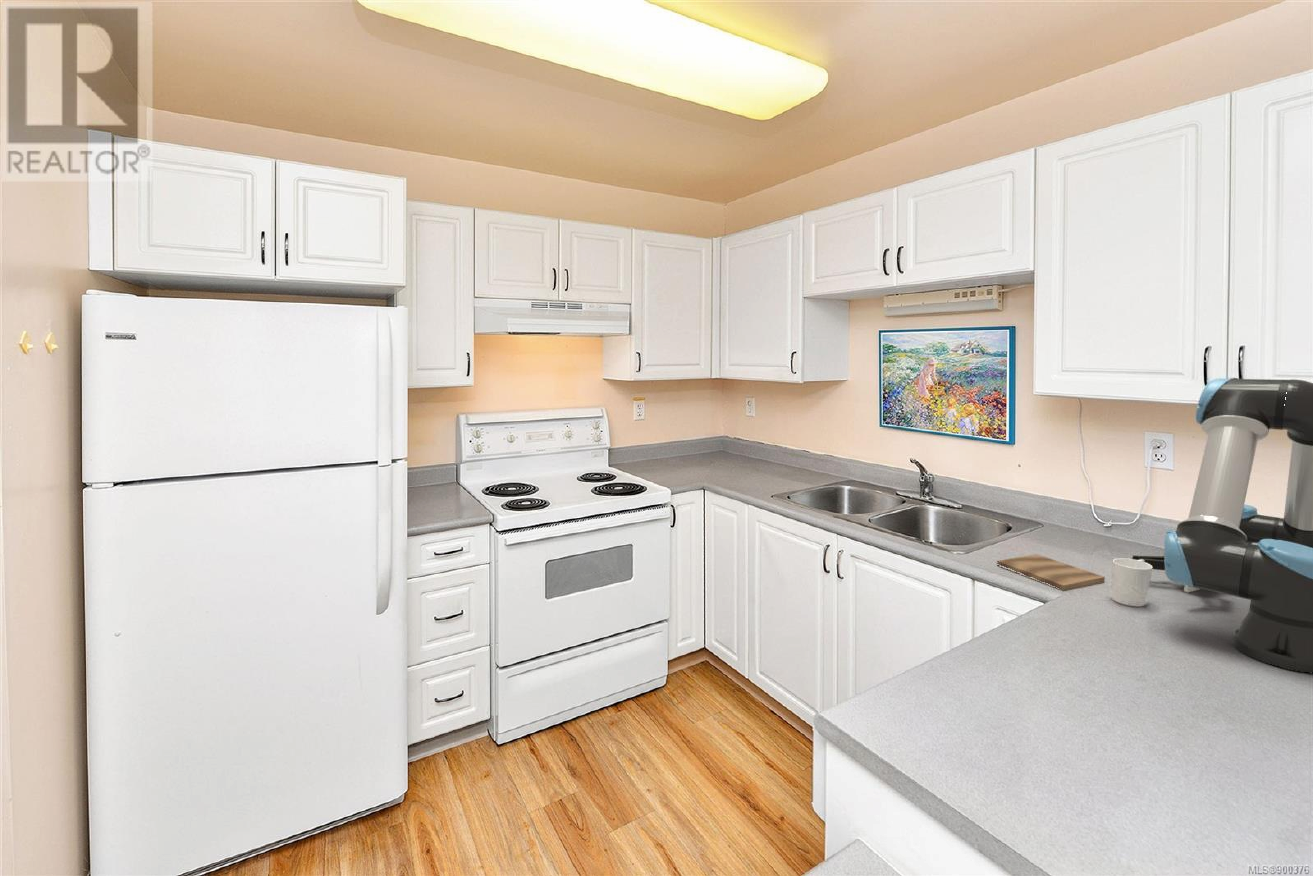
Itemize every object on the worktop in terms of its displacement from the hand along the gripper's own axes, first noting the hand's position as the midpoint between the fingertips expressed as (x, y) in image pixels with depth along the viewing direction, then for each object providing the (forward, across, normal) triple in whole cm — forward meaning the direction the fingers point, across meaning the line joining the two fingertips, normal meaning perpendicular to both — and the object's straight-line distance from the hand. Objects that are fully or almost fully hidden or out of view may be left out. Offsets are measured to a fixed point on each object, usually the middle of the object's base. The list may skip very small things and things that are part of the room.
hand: (1154, 576), depth 153 cm
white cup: (+7, +1, -6) cm, 10 cm away
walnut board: (+8, +22, -6) cm, 24 cm away
